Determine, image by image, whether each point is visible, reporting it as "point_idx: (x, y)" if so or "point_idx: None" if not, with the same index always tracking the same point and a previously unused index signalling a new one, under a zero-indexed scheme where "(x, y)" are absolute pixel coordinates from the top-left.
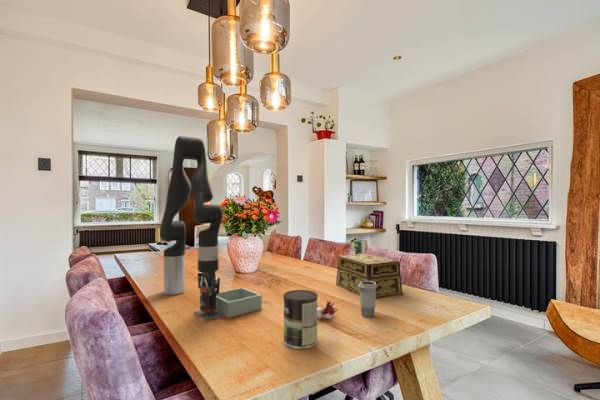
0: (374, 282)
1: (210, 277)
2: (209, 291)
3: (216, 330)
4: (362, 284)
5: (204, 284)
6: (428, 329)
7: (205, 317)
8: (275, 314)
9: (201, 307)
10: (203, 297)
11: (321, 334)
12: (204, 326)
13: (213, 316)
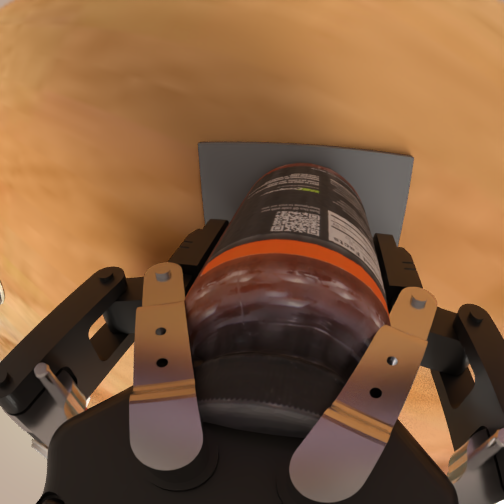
0: (44, 456)
1: (50, 441)
2: (159, 291)
3: (66, 135)
4: (36, 448)
5: (241, 352)
6: None
7: (247, 157)
8: (129, 365)
9: (292, 170)
10: (246, 215)
11: (4, 317)
12: (132, 101)
13: (229, 203)
